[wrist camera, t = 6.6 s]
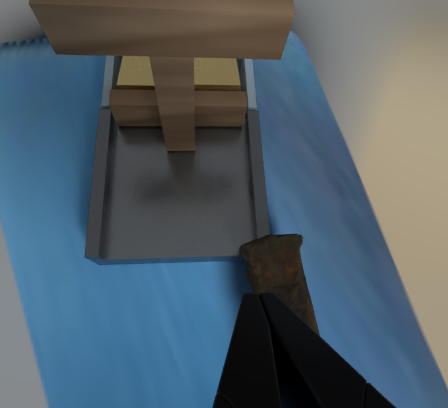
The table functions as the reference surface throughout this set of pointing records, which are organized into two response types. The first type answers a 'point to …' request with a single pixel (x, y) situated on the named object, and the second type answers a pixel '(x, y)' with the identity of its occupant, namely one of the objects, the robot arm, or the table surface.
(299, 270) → the hand tool
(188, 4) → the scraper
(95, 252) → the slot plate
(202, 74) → the chip
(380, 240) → the table surface
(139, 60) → the chip
